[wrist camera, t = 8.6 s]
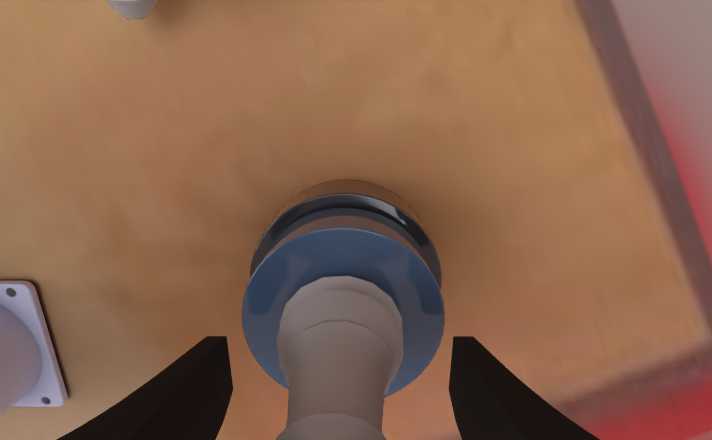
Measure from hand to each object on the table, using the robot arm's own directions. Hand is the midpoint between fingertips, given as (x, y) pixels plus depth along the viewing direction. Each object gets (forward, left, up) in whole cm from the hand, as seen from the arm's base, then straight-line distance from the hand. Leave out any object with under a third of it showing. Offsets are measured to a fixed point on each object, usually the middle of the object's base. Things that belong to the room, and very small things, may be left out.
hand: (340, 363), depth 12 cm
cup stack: (0, 0, -8) cm, 8 cm away
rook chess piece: (0, 0, -2) cm, 2 cm away
